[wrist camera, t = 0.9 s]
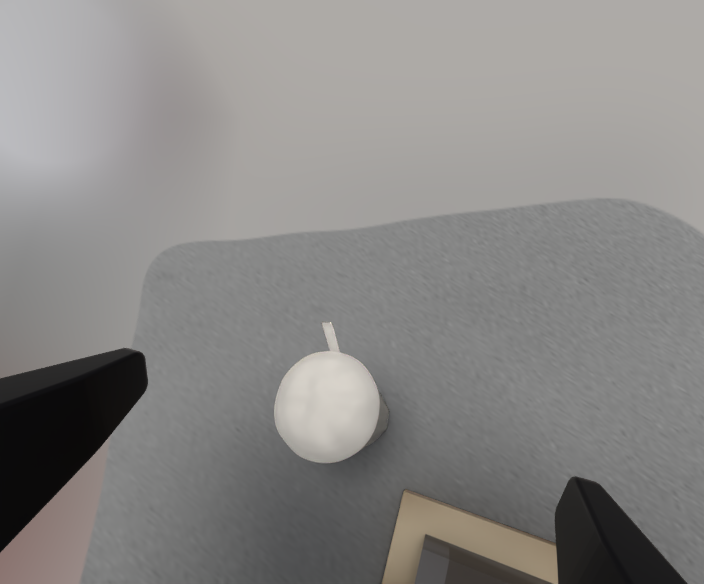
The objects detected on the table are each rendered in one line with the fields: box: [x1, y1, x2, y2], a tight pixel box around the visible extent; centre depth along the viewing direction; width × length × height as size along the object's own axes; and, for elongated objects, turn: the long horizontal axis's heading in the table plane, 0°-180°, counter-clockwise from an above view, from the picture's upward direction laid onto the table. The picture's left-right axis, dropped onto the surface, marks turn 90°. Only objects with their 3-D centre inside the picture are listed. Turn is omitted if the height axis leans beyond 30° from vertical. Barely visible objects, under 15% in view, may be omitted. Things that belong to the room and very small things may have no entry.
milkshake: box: [274, 321, 389, 463], centre depth 20 cm, size 4×5×10 cm
